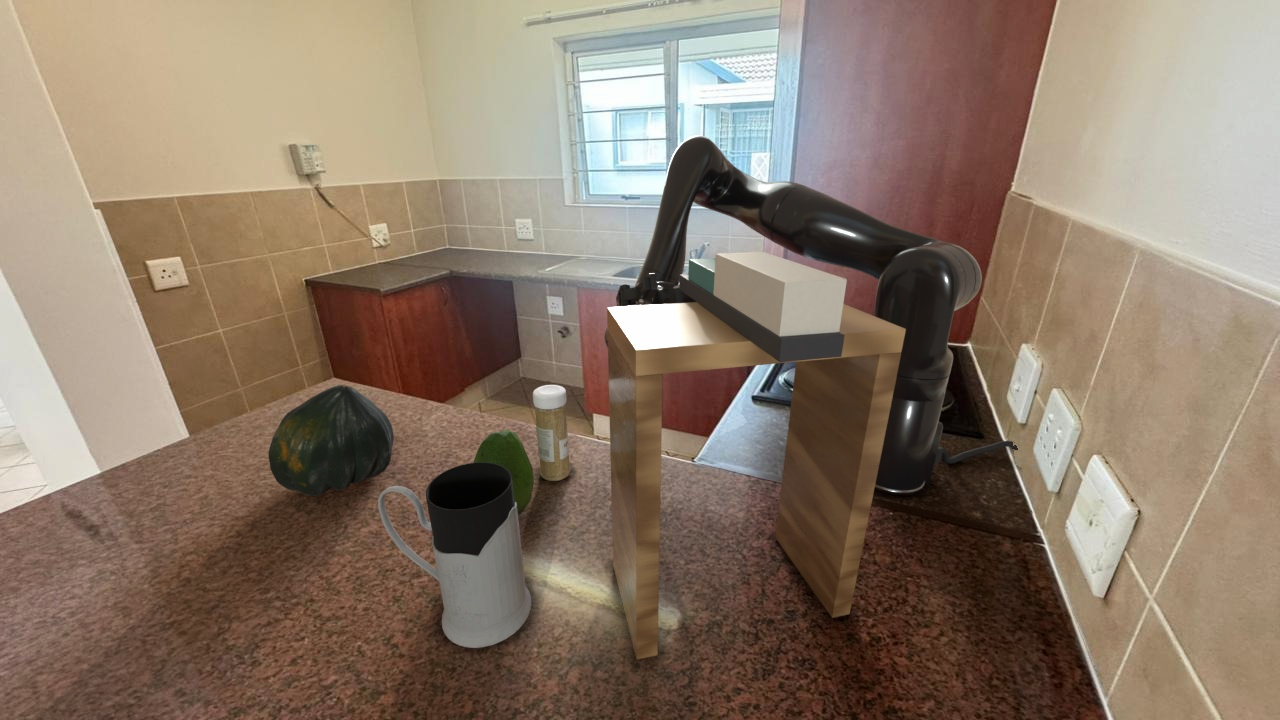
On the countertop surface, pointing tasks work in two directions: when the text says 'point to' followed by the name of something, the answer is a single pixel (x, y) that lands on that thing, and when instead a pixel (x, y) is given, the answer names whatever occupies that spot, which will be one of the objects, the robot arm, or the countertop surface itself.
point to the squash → (331, 442)
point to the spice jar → (552, 431)
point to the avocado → (509, 463)
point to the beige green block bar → (771, 302)
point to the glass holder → (472, 551)
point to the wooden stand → (814, 458)
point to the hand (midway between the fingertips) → (690, 279)
